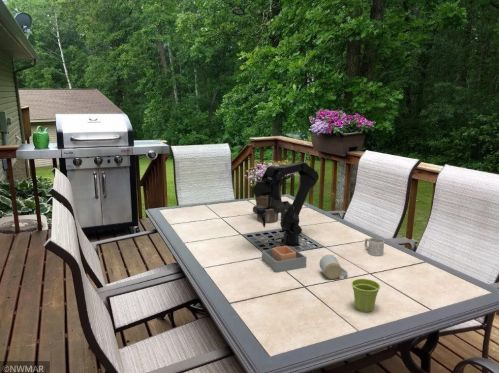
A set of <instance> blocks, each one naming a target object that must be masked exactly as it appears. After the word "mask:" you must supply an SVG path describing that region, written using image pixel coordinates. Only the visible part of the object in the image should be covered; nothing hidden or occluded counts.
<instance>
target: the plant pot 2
mask: <svg viewBox="0 0 499 373" xmlns="http://www.w3.org/2000/svg"><path fill="white" fill-rule="evenodd" d="M351 286H352V290H353V297H354V307H355V309H356V310H357V311H361V312H363V313H370V312H372V311H374V308H375V305H376V304H375V303H376V300H377V295H378V292H379V290H380V289H381V284H380V283H378V282H377V281H375V280H373V279H370V278H355V279H353V280H352V281H351Z"/></svg>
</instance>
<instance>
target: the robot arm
mask: <svg viewBox="0 0 499 373" xmlns="http://www.w3.org/2000/svg"><path fill="white" fill-rule="evenodd" d="M295 173H298V175H299V176H300V177H299V182H300V186H299V187H298V190H297V193H296V195H295V197H294V199H293V201H292V203H291V202H289V200H285V201H284V200H283V201H282V196H280V193H281V184H284V180H282V179H283V178H285V176H287V175H291V174H295ZM319 178H320V177H319V173H318V171H316V170H315V169H314V168H313V167H311V166H310V165H309V164H308V163H307V162H304V161H297V162H294V163H289V164H285V165H268V166H267V167H266V169H265V171H264V173H263V175H262V177H261V178H260V181H259V180H258V181H256V182H255V184H254V185H253V188H252V191H253V195H254V196H256V197H261V196H266V197H267V203H266V206H267V207H263V206H261V205H259V206H256V205H254V206H253V207H252V212H253V213H254V214H256V216H257V215H258V216H259V217H260V220H261V222H260V223H261V224H262V227H263V228H266V223H265V216H266V214H264V213H265V211H272V210H274V211H275V213H278V214H280V227H281V230H282V232H284V235H283V242H282V243H283V244H284V246H287V247H288V246H291V247H296V246H301V243H300V242H299V239H300V236H299V235H300V234H302V232H303V228H302V227H301V226H300V225H299V223H300V213H301V211H302V209H303V207H304V204H305V201H306V199H307V196H308V194H309V191H310V190H311V189H312V188H313V187H314V186H315V185H316V184H317V182H318V181H319Z"/></svg>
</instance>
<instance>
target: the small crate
mask: <svg viewBox="0 0 499 373" xmlns="http://www.w3.org/2000/svg"><path fill="white" fill-rule="evenodd" d="M271 249H272V258H273V259H274V260H276V261H283V260H289V259H295V258H296V252H294V251H293V250H292V249H290V248H289V247H288V246H287V245H282V246H276V247H272V248H271Z"/></svg>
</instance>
